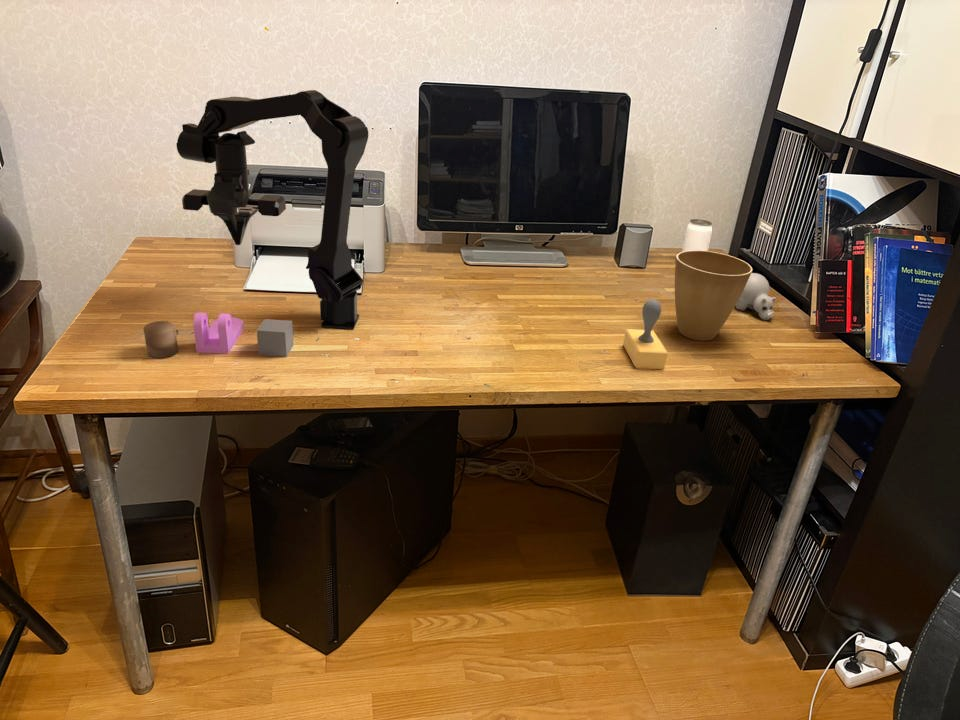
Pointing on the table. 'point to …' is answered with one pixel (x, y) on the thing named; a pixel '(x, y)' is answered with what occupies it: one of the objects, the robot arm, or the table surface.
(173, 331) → the walnut cylinder
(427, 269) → the table surface
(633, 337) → the rubber stamp
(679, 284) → the plant pot
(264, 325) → the grey cube
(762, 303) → the chubby cartoon animal
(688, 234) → the can
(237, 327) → the bracket
